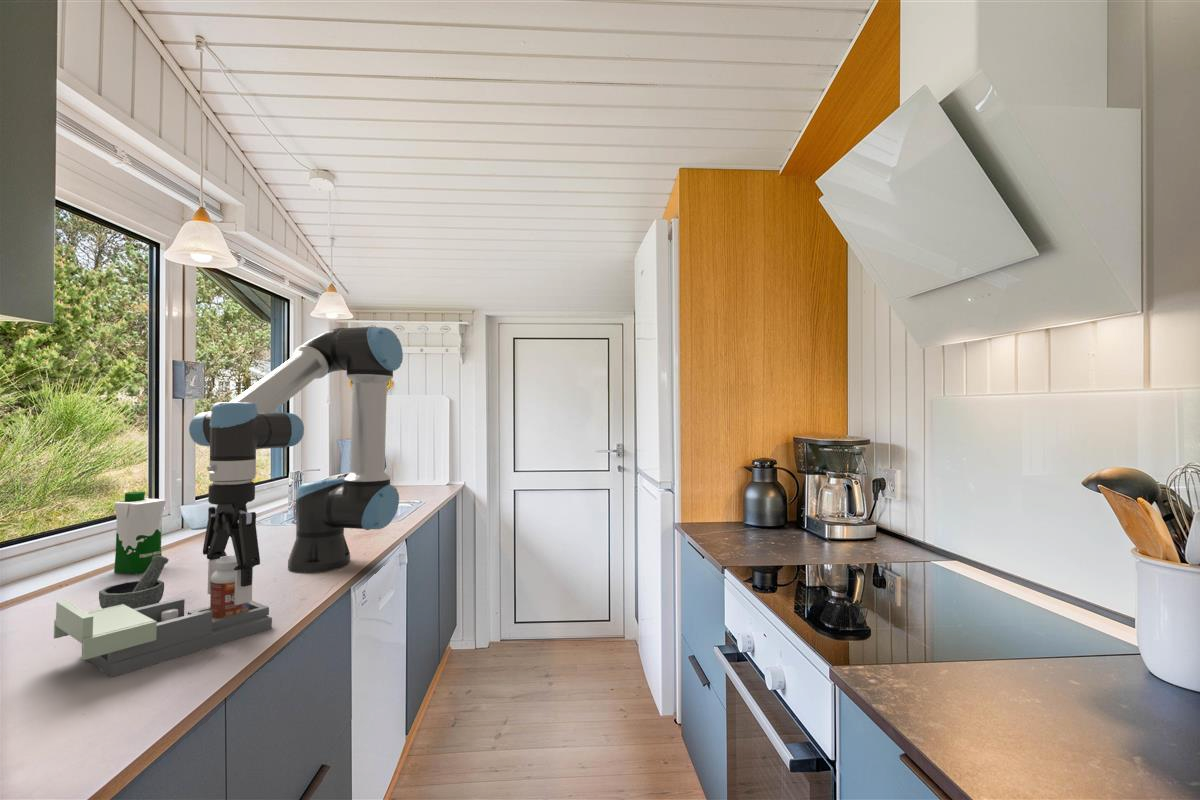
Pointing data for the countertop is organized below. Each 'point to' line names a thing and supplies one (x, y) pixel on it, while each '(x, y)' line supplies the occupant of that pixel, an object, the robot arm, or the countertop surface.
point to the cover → (103, 628)
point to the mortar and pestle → (137, 588)
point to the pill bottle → (224, 589)
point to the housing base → (183, 634)
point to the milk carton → (137, 532)
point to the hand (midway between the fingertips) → (229, 597)
